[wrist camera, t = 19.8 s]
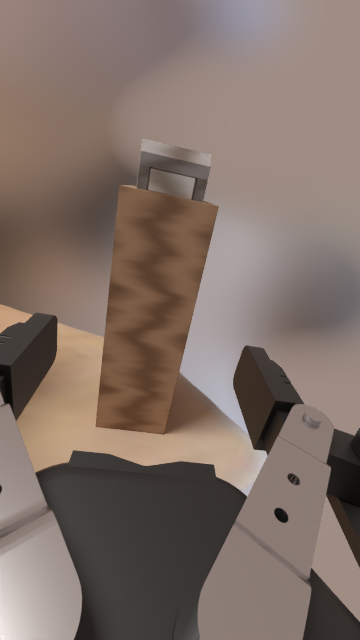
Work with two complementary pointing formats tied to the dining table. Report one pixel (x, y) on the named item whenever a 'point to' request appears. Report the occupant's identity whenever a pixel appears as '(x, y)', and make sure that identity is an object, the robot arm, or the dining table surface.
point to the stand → (153, 285)
